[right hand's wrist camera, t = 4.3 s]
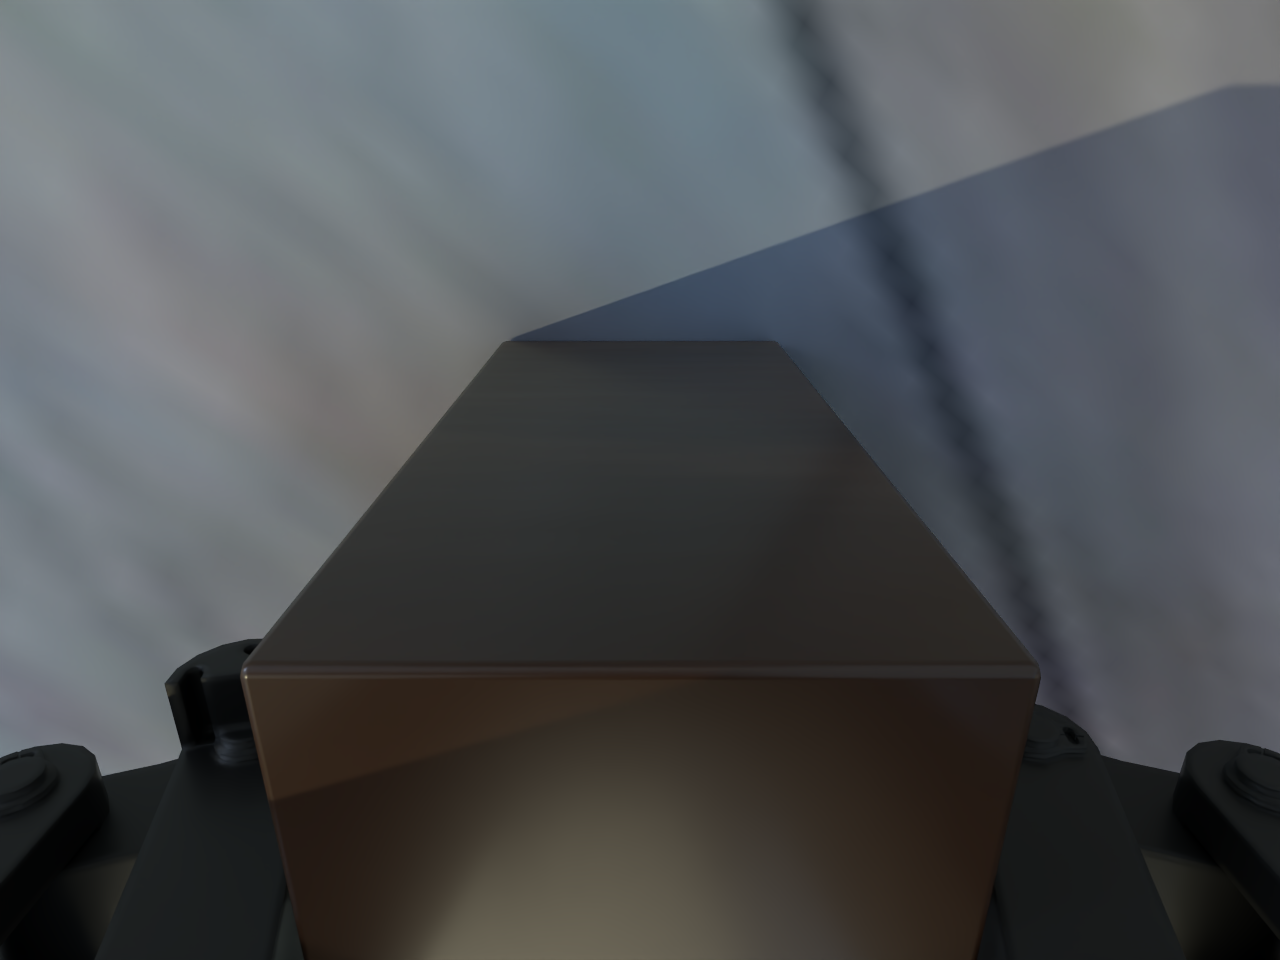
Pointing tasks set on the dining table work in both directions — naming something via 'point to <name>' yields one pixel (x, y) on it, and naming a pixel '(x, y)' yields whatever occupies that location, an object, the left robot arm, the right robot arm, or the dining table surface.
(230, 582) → the dining table surface
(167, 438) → the dining table surface
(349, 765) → the walnut box
